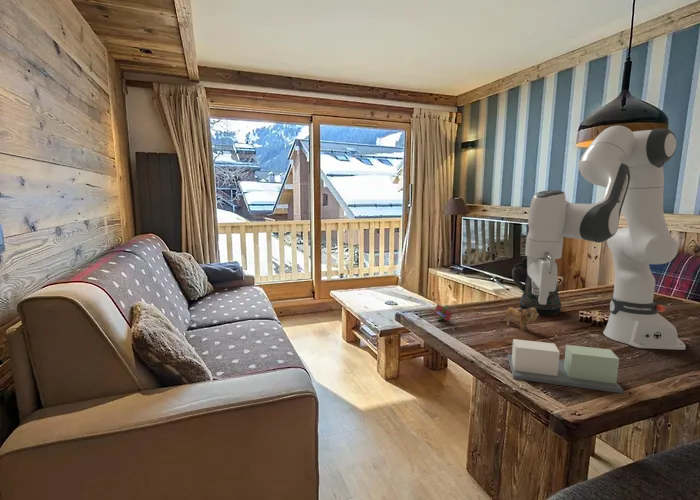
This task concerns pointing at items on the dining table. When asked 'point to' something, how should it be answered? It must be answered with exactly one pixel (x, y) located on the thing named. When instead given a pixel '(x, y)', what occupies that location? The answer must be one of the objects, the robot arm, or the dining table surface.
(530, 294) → the beer stein
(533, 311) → the lion figurine
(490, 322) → the dining table surface
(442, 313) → the geometric puzzle
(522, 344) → the beige eraser-shaped brick
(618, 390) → the slate board
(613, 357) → the pale green prism
